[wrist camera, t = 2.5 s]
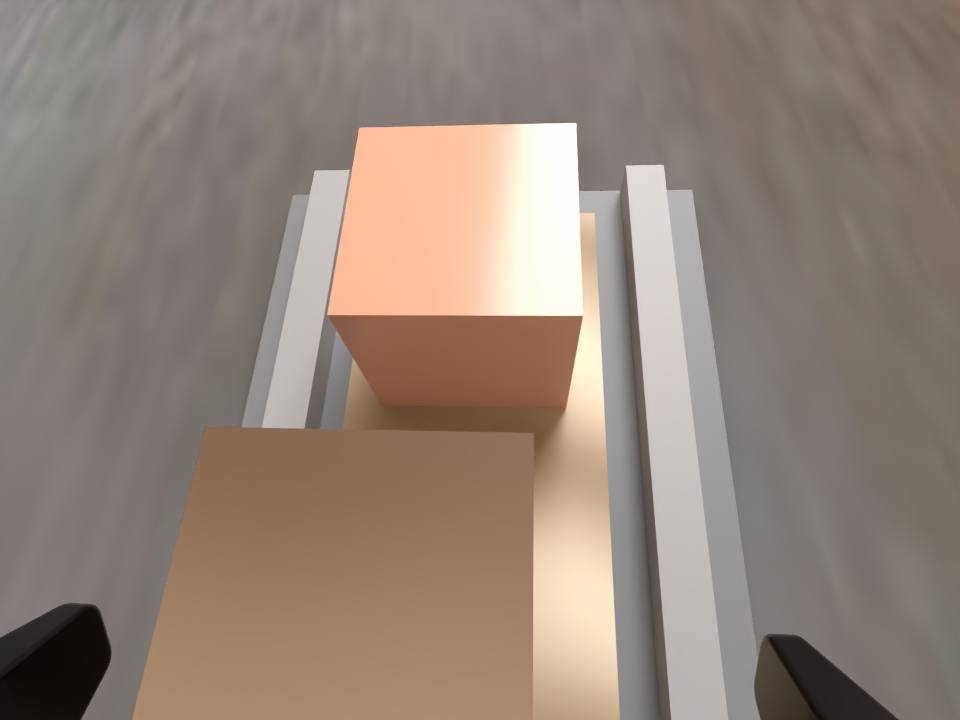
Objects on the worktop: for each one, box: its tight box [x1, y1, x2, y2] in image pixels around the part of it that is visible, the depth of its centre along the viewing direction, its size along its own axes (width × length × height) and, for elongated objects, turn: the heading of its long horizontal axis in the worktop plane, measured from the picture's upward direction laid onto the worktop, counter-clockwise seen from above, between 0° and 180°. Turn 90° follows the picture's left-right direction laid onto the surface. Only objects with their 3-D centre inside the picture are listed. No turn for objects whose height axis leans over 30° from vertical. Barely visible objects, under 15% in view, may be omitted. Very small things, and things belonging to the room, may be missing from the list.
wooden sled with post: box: [132, 213, 620, 720], centre depth 11 cm, size 16×7×11 cm, turn 178°
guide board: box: [242, 165, 761, 720], centre depth 14 cm, size 30×14×2 cm, turn 178°
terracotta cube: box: [327, 123, 583, 408], centre depth 15 cm, size 5×5×5 cm
